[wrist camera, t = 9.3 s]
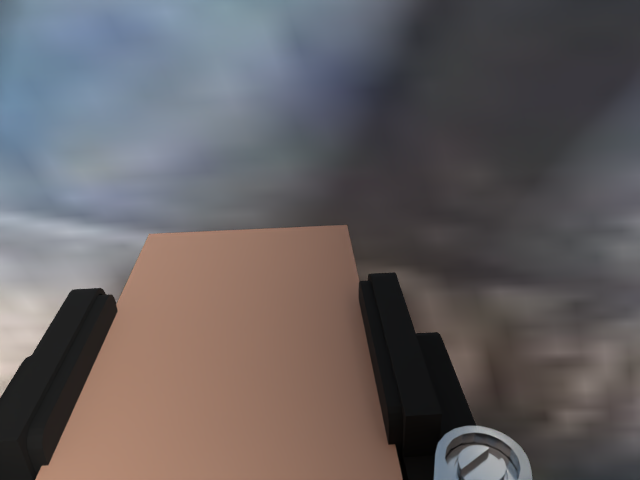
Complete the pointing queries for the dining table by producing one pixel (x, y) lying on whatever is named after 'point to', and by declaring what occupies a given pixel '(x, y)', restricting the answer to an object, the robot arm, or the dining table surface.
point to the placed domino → (233, 366)
